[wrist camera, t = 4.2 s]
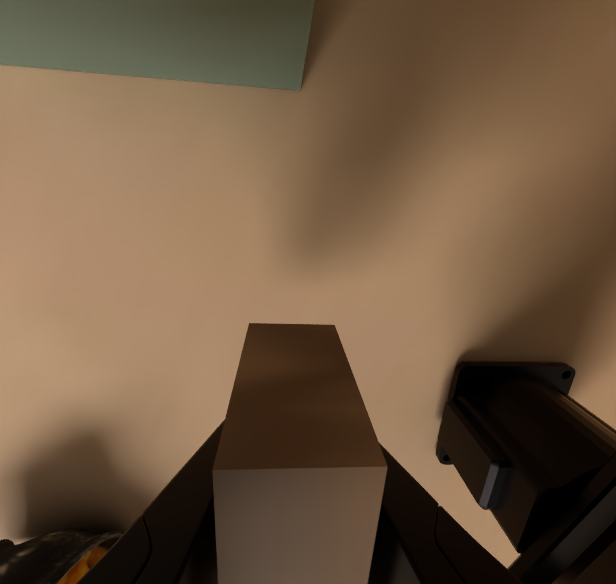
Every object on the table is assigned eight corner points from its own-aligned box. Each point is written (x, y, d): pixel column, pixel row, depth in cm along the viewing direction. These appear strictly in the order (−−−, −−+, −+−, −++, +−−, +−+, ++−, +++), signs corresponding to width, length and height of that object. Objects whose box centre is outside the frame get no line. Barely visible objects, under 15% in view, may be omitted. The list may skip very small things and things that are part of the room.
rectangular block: (334, 325, 9) (387, 466, 5) (322, 457, 11) (353, 664, 6) (249, 323, 9) (212, 469, 4) (249, 458, 11) (223, 675, 6)
